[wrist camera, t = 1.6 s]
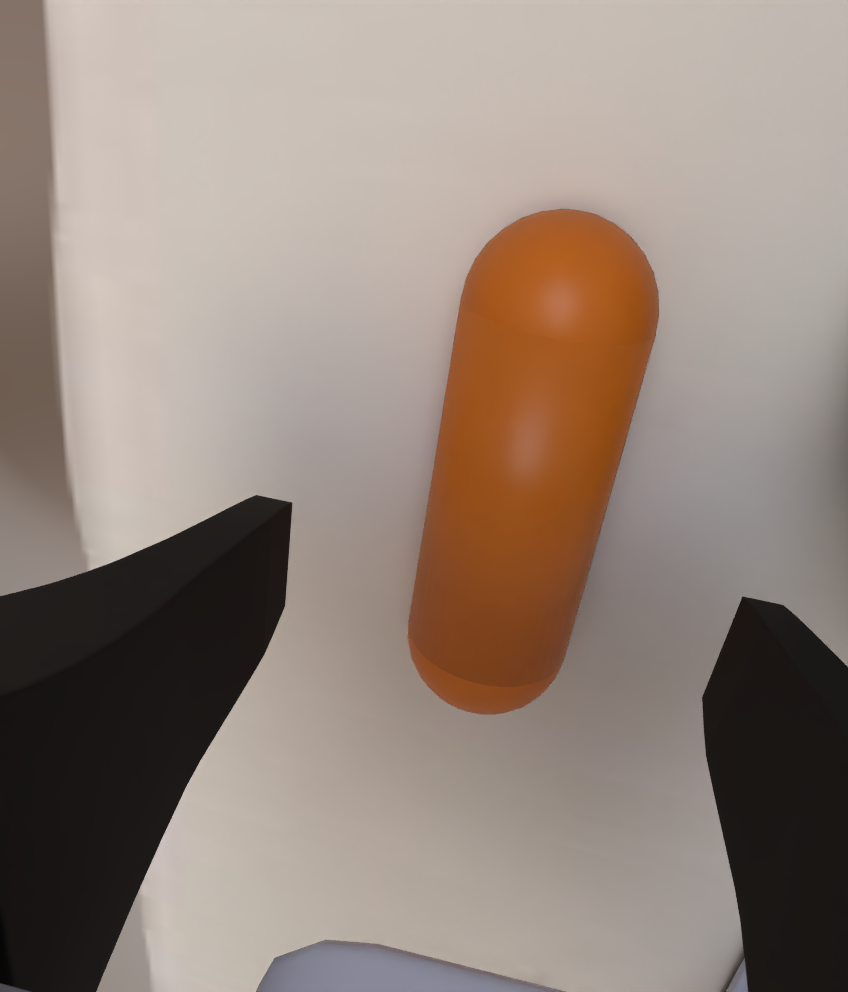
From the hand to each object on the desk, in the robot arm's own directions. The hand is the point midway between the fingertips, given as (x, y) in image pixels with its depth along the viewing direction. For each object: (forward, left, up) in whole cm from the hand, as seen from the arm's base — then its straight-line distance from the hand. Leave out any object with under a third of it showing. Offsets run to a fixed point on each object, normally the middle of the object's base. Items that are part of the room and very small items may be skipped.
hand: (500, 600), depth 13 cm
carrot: (0, 0, -6) cm, 6 cm away
